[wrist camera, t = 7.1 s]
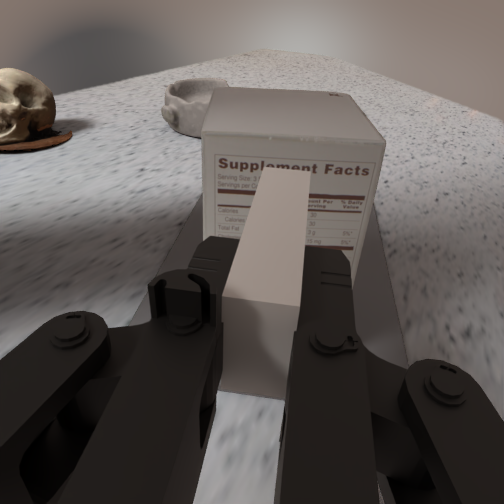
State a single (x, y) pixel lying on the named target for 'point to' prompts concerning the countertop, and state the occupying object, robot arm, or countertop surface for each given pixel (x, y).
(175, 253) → the mat
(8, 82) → the skull
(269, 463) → the countertop surface
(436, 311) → the countertop surface
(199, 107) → the dish
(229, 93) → the supplement box
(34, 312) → the countertop surface
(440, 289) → the countertop surface
